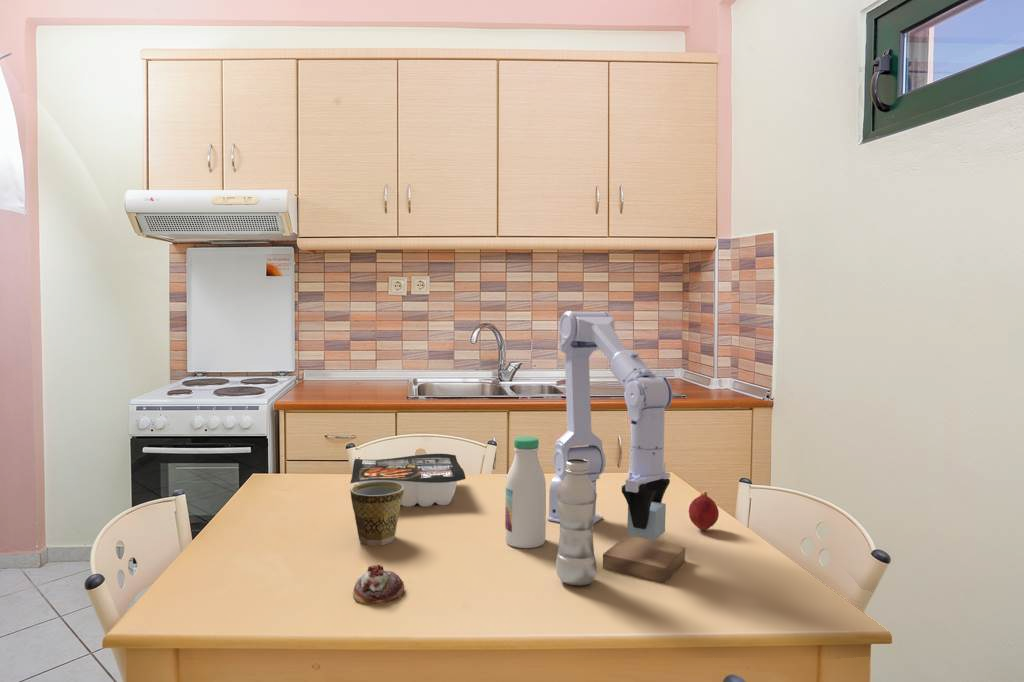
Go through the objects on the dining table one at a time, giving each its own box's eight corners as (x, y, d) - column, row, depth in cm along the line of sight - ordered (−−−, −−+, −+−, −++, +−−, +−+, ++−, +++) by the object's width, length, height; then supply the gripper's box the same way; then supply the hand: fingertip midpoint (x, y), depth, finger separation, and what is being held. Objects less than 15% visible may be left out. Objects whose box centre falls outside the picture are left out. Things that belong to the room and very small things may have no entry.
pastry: (356, 609, 96) (355, 576, 96) (349, 588, 103) (348, 557, 103) (409, 600, 99) (409, 568, 99) (398, 581, 106) (398, 551, 106)
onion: (719, 536, 127) (720, 496, 127) (689, 534, 129) (690, 494, 128) (716, 527, 133) (717, 488, 133) (687, 524, 134) (688, 486, 134)
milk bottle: (551, 538, 126) (552, 436, 124) (536, 552, 119) (537, 444, 117) (515, 532, 129) (516, 432, 128) (498, 545, 122) (499, 440, 121)
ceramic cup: (414, 539, 125) (414, 487, 124) (370, 553, 117) (370, 499, 117) (374, 523, 133) (374, 475, 133) (331, 535, 126) (331, 484, 126)
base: (602, 568, 112) (602, 554, 111) (626, 548, 121) (626, 535, 121) (664, 583, 106) (665, 568, 106) (684, 560, 115) (685, 547, 115)
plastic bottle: (585, 594, 101) (588, 468, 100) (548, 584, 105) (549, 462, 104) (602, 579, 107) (605, 460, 106) (566, 570, 110) (567, 454, 109)
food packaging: (349, 480, 139) (355, 455, 161) (350, 514, 140) (355, 485, 162) (465, 475, 144) (455, 452, 166) (465, 508, 144) (455, 481, 166)
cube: (627, 534, 112) (627, 506, 112) (637, 526, 116) (638, 498, 116) (655, 540, 110) (655, 511, 109) (665, 531, 114) (665, 503, 113)
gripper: (655, 457, 104) (653, 540, 105) (682, 441, 116) (680, 515, 117) (614, 451, 108) (612, 531, 108) (644, 437, 120) (643, 509, 121)
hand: (645, 523), depth 113 cm, fingers closed on cube, 5 cm apart
